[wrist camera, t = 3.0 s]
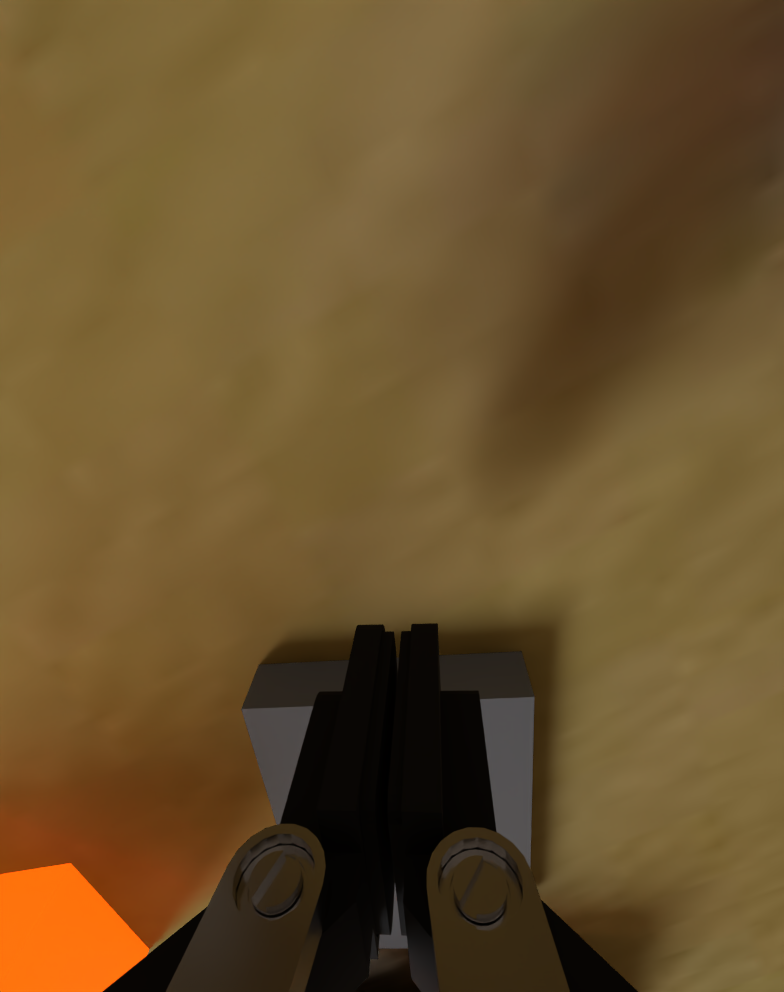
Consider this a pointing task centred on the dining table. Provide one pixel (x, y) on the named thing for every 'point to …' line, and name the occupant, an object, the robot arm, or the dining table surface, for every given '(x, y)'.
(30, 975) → the orange juice
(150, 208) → the dining table surface
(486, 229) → the dining table surface
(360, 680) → the robot arm
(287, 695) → the slate tile
